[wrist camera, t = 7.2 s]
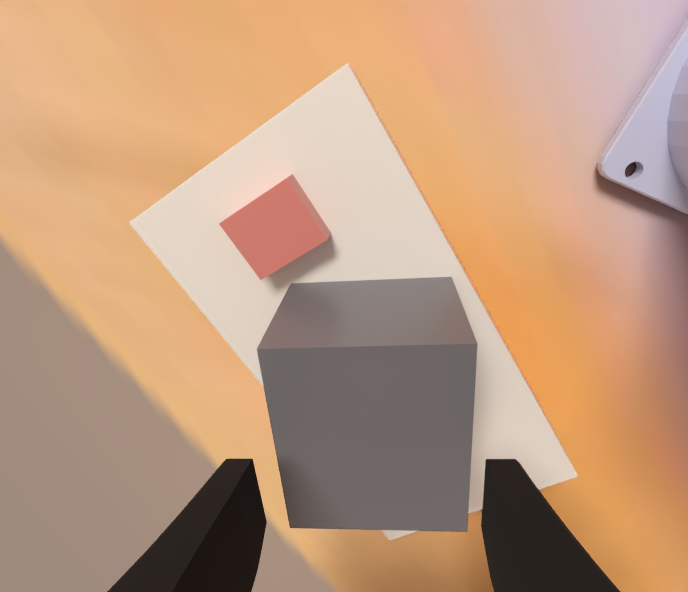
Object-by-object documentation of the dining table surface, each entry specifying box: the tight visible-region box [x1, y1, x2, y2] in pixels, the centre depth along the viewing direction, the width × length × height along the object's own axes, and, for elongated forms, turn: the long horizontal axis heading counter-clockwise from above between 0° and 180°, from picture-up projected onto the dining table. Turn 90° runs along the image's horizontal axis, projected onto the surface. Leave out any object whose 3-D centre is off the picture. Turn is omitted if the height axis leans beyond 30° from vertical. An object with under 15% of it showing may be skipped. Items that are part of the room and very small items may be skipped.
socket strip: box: [129, 63, 578, 541], centre depth 16 cm, size 20×8×3 cm, turn 33°
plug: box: [257, 277, 477, 532], centre depth 14 cm, size 5×6×6 cm
